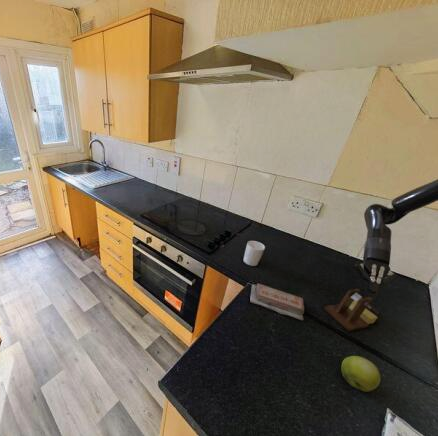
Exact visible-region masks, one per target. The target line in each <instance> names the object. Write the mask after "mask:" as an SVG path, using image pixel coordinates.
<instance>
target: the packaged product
mask: <svg viewBox="0 0 438 436" xmlns="http://www.w3.org/2000/svg"><path fill="white" fill-rule="evenodd" d="M249 299H250V302H249V303H252V304H255V305H257V306H261V307H264V308H266V309H268V310H271V311H274V312H276V313H278V314H280V315H285V316H289V317H291V318H294V319H296V320H299V321H304V317H303V316H304V313H305V305H304V298H303V297H300V296H298V295H294V294H292V293H288V292H286V291H282V290H280V289H276V288H274V287H270V286H267V285H264V284H262V283H256V284H254V283H252V285H251V289H250V298H249Z"/></svg>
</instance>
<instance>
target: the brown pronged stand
mask: <svg viewBox="0 0 438 436" xmlns="http://www.w3.org/2000/svg"><path fill="white" fill-rule="evenodd" d="M360 292H361V290H360V289H359V288H354V289H353V288H352V289H348V290H347V292H346V293H345V295H344V296H343V298H342V300H340V303H337V304H331V305H326V306H324V307H323V310H324V311H325V312H327V314H329V315H330V316H331V317H332V318H333V319H334V320H335V321H336V322H337V323H339V325H341V326H342V327H344V328H345V330H347V332H353V331H356V330H362V329H366V328H369V326H370V324H368V323H366V322H365V321H364V320H363V319H361V318H360V316H361V314H362V313H363V312H364V310H365V309H367V308H366V307H367V306H368V304H370V303H371V302H372V300H373V298H372V297H370V296H366V297H363V298H361V299H359V301H358V302H357V304H356V305H355V307H354V308H353V310H352V311H351V310H350V309H349V307H350V305H351V304H352V302H353V301H355V300H354V299H352V298H351V296H352V295H353V294H355V293H357V294H359V293H360Z"/></svg>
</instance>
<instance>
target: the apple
mask: <svg viewBox="0 0 438 436" xmlns="http://www.w3.org/2000/svg"><path fill="white" fill-rule="evenodd" d="M340 368H341V374H342V377H343V379H344V380H345V381H346V382H347V383H348V384H349V386H351V387H352V388H354V389H357V390H359V391H362V392H366V393H367V392H372V391H374V390H375V389H377V388H378V386H379V385H380V383H381V379H382V378H381V373H380V371H379V369H378V367H377V366H376V364H374V363H373V362H372V361H370V360H369V359H367V358H365V357H362V356H359V355H350V356H346V357H345V358H344V359H343V360H342V362H341V367H340Z"/></svg>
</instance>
